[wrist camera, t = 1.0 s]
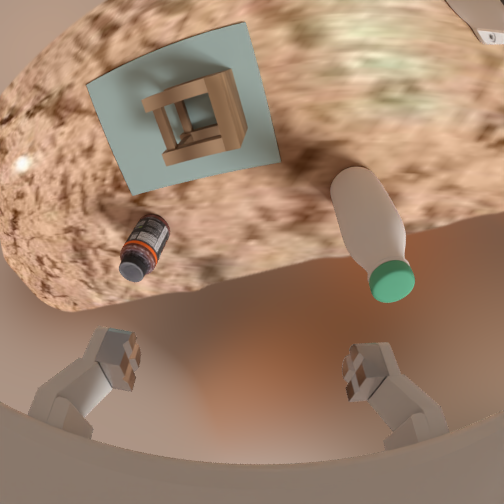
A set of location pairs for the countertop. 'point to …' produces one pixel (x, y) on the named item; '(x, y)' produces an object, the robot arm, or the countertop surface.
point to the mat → (198, 107)
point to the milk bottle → (372, 232)
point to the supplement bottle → (143, 247)
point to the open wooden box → (208, 137)
